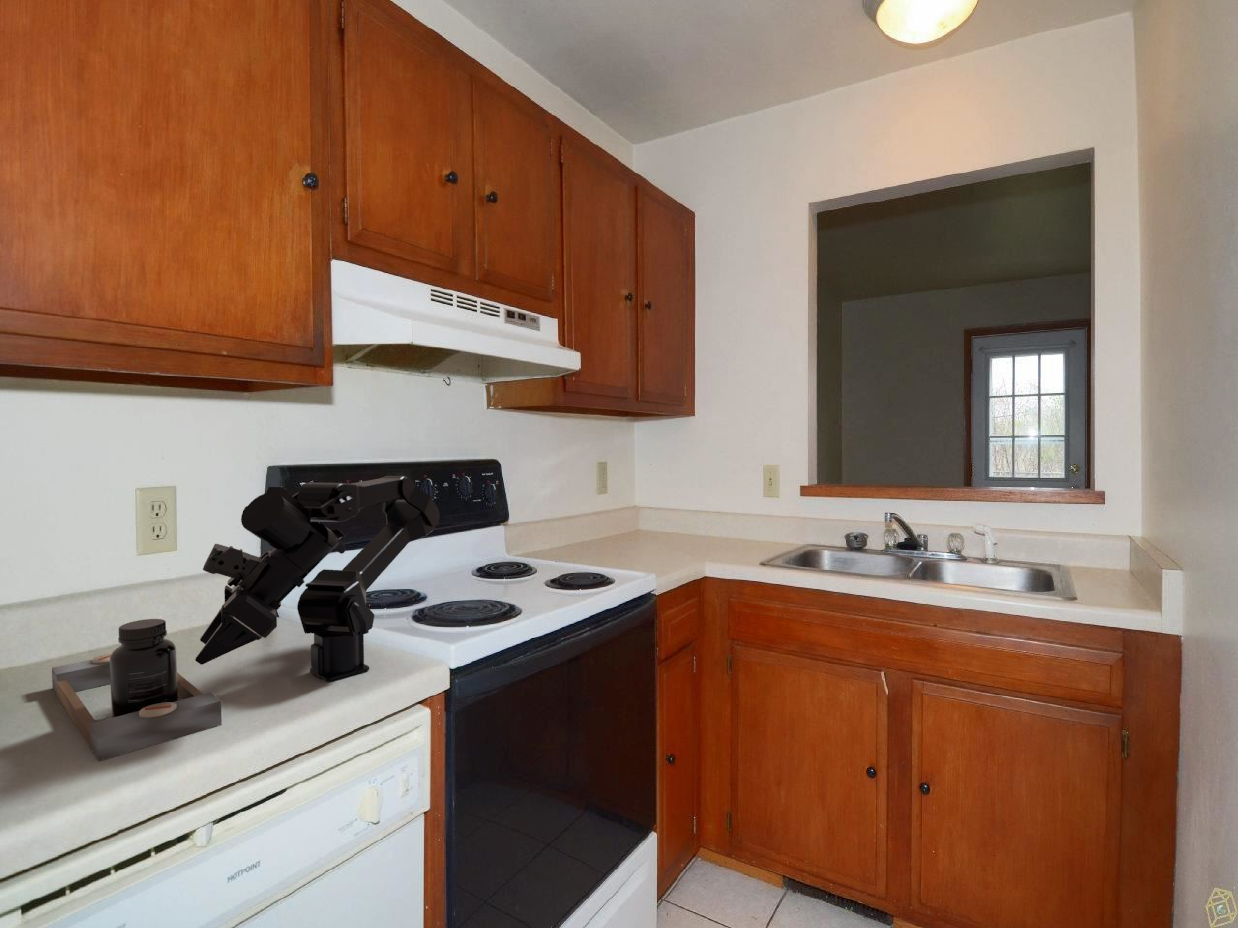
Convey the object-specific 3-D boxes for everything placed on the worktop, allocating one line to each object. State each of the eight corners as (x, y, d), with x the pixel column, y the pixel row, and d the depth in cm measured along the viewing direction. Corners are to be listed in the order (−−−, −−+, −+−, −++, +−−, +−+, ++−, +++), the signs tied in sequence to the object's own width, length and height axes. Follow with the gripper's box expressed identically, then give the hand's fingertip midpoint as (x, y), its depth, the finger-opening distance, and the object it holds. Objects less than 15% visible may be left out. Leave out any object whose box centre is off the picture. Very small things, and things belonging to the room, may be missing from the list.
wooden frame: (154, 665, 99) (154, 643, 99) (221, 724, 79) (220, 695, 79) (52, 688, 90) (51, 663, 90) (98, 761, 70) (96, 728, 70)
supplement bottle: (107, 716, 81) (104, 623, 81) (171, 700, 86) (169, 612, 86) (116, 733, 76) (113, 634, 76) (183, 716, 81) (181, 623, 81)
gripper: (244, 515, 94) (154, 599, 89) (243, 531, 78) (134, 634, 73) (305, 563, 98) (222, 645, 93) (316, 587, 82) (217, 688, 77)
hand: (200, 651), depth 84 cm, fingers open, 9 cm apart
